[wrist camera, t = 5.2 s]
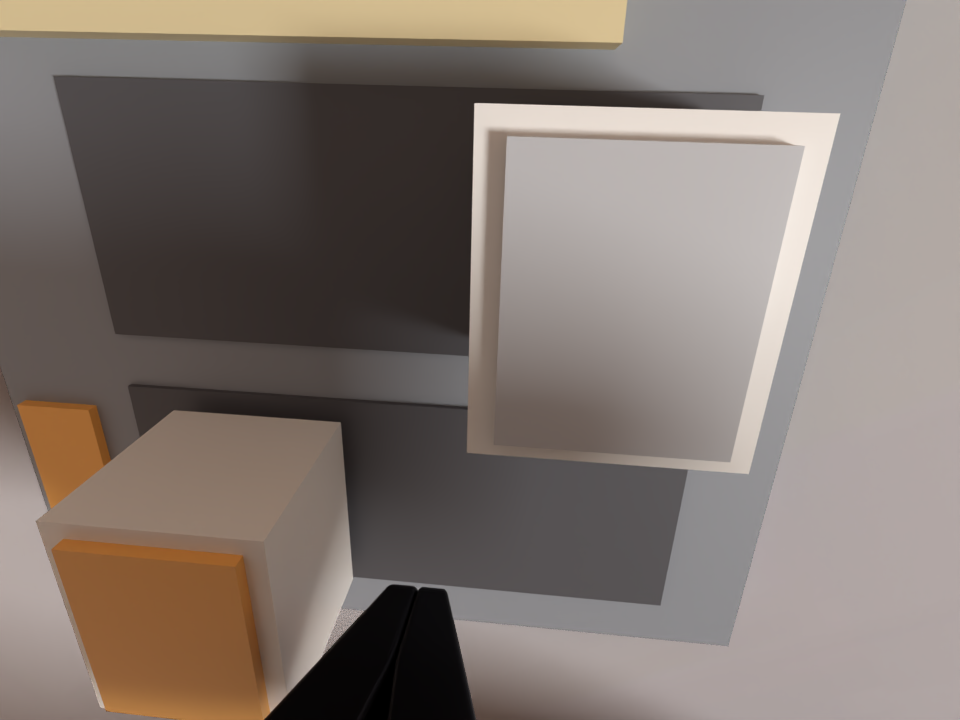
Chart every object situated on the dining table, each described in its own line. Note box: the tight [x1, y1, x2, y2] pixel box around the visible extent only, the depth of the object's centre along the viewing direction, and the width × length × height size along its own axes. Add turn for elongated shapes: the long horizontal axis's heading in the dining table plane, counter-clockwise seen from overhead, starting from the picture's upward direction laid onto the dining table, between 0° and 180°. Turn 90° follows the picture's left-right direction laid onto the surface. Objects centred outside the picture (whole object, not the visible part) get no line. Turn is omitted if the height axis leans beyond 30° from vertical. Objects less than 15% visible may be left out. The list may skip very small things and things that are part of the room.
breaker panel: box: [0, 0, 906, 646], centre depth 8 cm, size 20×14×2 cm
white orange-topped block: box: [36, 410, 353, 720], centre depth 9 cm, size 4×3×3 cm
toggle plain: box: [467, 103, 841, 474], centre depth 7 cm, size 4×3×3 cm
